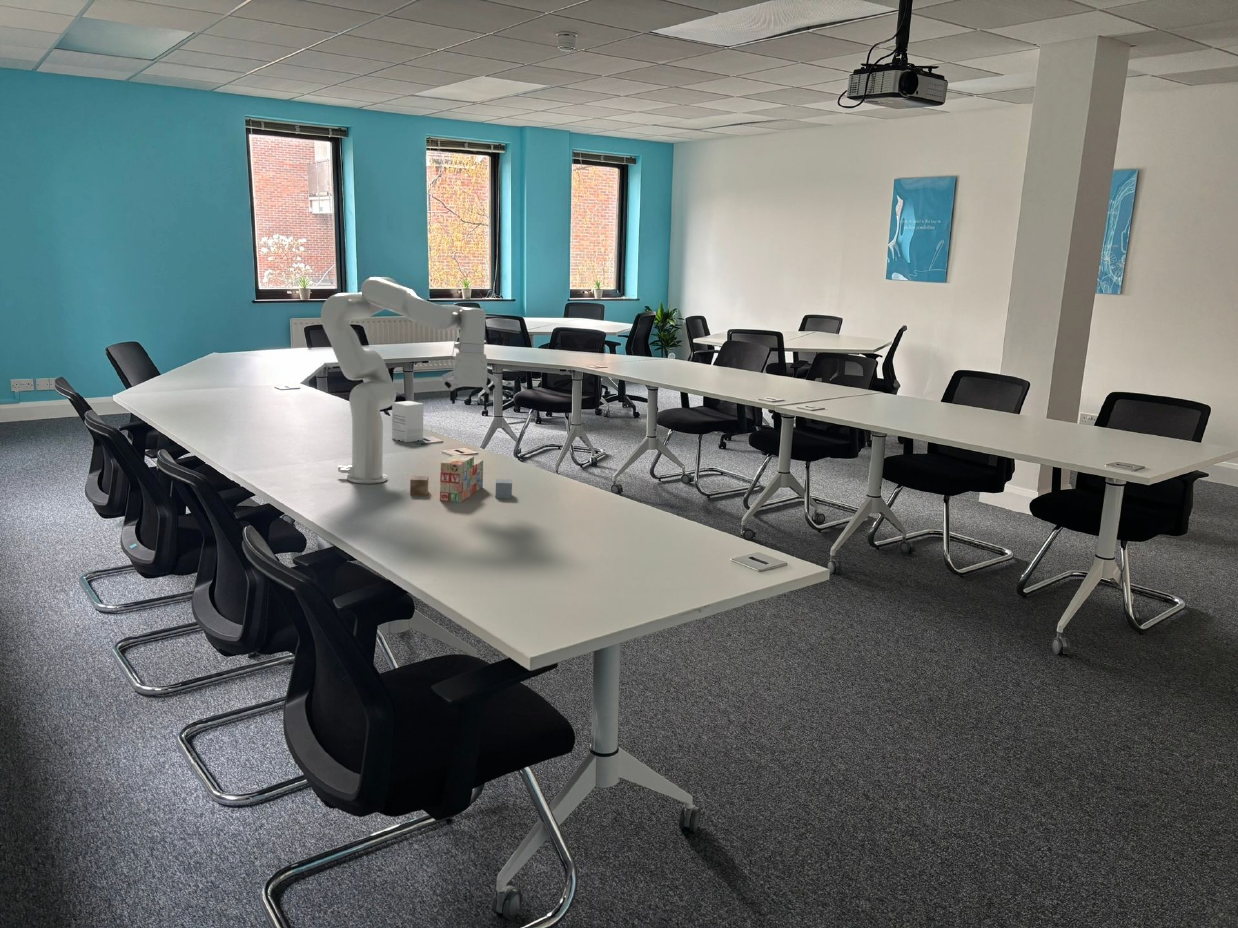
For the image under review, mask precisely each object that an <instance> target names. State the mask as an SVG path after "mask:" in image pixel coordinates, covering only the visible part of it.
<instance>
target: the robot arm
mask: <svg viewBox="0 0 1238 928" xmlns="http://www.w3.org/2000/svg"><path fill="white" fill-rule="evenodd" d="M384 310H386V311H390V312H392V313H395V314H398V315H400V316H402V317H405V318H406V319H408V320H409V321H412V322H413V323H415V324H418V325H420V326H422V327H426V328H429V329H431V330H435V331H440V332H441V331H442V332H445V331H452V330H453V331H455V330H459V339H458V340H459V342H458V343H454V348H453V349H457V350H458V351H457V352H456V353H455V358H454V364H453V370H452V371H449V372H447V373H444V374H442V375H441V379H442V381H443V384H444V386H446V387H447V389H448V390H449V392H450V395H449V401H450V402H451V404H452V405H455V403H456V394H457V393H456V392H457V391H456V388H457V387H473V388H482V389H483V391H484V393H483V406H484V407H486V406H487V404H489V403H490V402H489V401H490V392H492V391H493V390H494V389H495V388H496V387H497V384H498V383H499V381H500V380H499V379H500V378H498V377H496V376H495V375H493V374H491V373H489V371H488V360H487V354H486V353H485V336H486V311H485V310H484V309H483V308H479V307H465V306H459V305H456V304H442V305H441V304H436V303H434V302H431V301H430V300H429V301H428V300H426V299H423V298H421V297H419V296H418V295H417V292H416V291H415V289H412V288H408V287H407V286H404V285H401V284H399V283H398V282H397V281H396V280H395V279H394V278H391V277H387V276H385V277H382V276H380V277H379V276H374V277H373V276H372V277H371V276H370V277H369V278H367V279H365V280H364V281H363V282H362V284H361V287H360V291H359V292H340V293H336V294H332V295H331V296H329V297H328V298H327V299H326V300H325V301H324V302H323V304H322V307H321V312H320V321H321V325H322V327H323V330H324V333H325V334H326V336H327V338H328V341H329V342H330V345H331V347H332V350H333V352H334V355H335V358H336V360H337V362H338V365H339V368H340V370H341V372H342V374H343V376H344V377H345V378H346V379H347V380H351V381H360V380H362V381H363V382H361V383H359V384H357V385H356V386H354V387H353V388H352V389H351V390H350V393H349V407H350V413H351V414H350V415H351V423H352V424H351V432H352V433H351V437H352V438H351V439H352V440H351V441H352V442H351V443H352V444H351V449H352V450H351V455H352V456H351V462H352V463H351V464H350V465H348V466H345V465H338V467H337V469H338V473H340V474H348V475H347V476H346V480H347V481H349V482H352V483H355V484H370V485H371V484H378V483H383V482H386V481H387V480H388V475H387V474H385V473H383V469H384V468H383V467H384V466H383V465H384V464H383V462H384V461H383V459H384V455H383V454H384V453H383V451H384V423H383V418H382V415H381V411H382V410H384V409H385V410H386V409H388V408H390V407H392V404H393V403H394V402H396V397H397V391H396V388H395V385H394V383H393V380H392V377H391V375H390V373H389V370H388V368H387V365H386V363H385V360H384V359H383V357H382V356H381V355H380V354H379V352H377V350H374V349H371V348H364V347H363V345H362V344H361V342H360V339H359V336H358V334H357V333H356V330H354V328H353V327H352V326H351V325H350V323H349V321H361V320H366V319H369V318H370V317H372V316H374V315H376V314H378V313H380V312H382V311H384ZM451 377H452V382H453V383H450V381H449V380H448V378H451ZM488 379H489V380H490V381H492V383H491V384H490V386H489V385H488V384H487V383H488Z"/></svg>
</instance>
